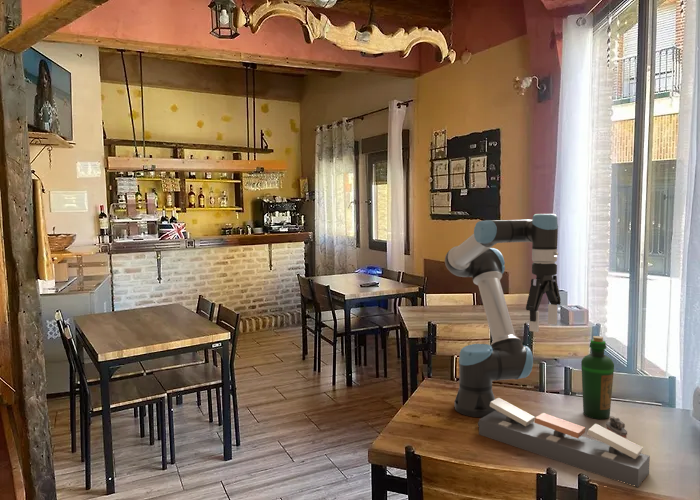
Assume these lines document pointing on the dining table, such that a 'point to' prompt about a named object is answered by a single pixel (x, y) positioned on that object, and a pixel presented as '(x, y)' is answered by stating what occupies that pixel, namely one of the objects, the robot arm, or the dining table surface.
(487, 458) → the dining table surface
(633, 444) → the rocker right
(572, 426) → the rocker middle
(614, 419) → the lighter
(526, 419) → the block
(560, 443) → the rocker switch base
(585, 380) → the bottle
